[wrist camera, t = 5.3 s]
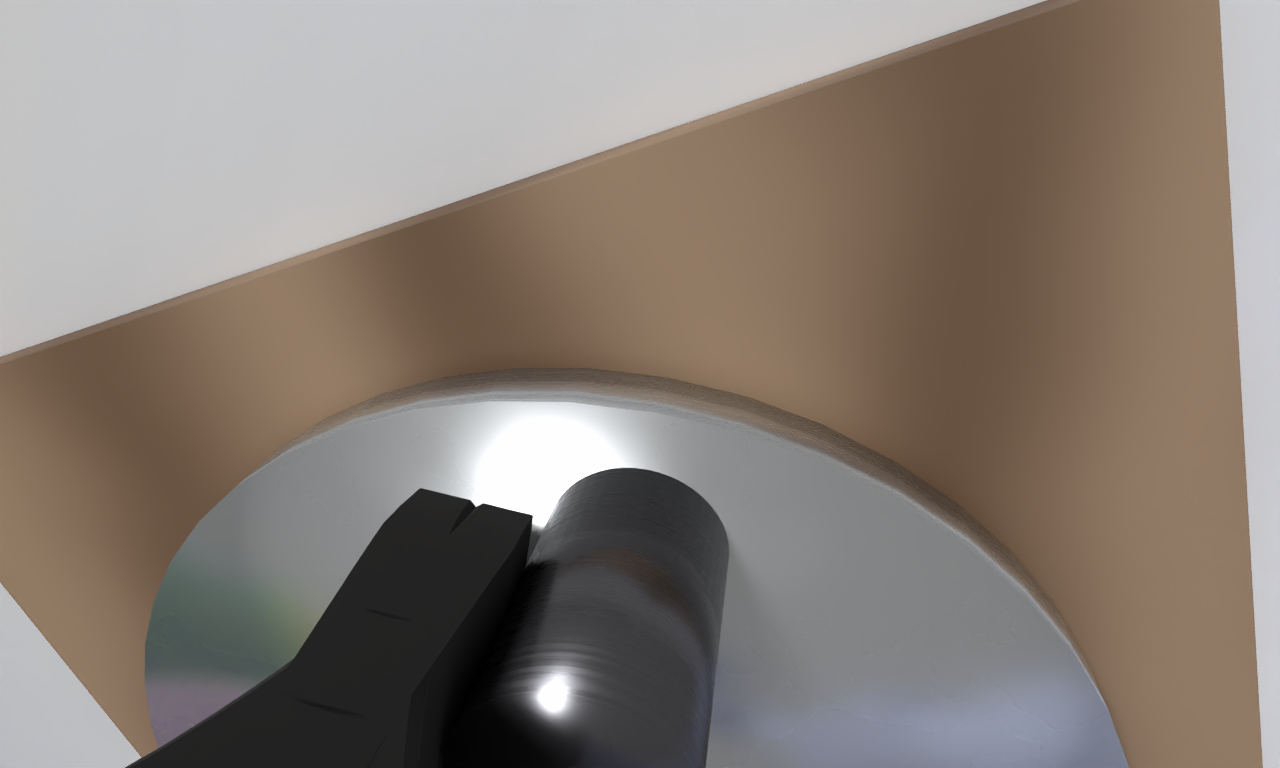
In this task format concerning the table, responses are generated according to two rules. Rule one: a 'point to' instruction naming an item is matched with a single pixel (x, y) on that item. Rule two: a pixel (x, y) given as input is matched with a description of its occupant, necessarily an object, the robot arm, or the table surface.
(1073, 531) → the dial plate
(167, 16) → the table surface
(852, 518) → the dial
